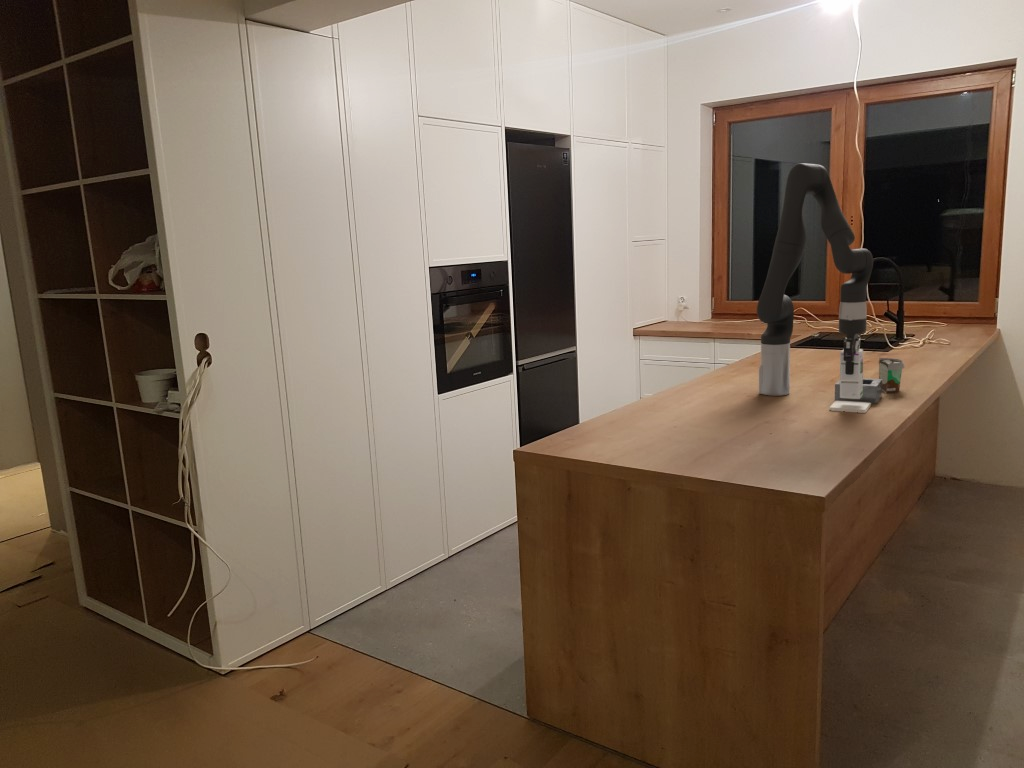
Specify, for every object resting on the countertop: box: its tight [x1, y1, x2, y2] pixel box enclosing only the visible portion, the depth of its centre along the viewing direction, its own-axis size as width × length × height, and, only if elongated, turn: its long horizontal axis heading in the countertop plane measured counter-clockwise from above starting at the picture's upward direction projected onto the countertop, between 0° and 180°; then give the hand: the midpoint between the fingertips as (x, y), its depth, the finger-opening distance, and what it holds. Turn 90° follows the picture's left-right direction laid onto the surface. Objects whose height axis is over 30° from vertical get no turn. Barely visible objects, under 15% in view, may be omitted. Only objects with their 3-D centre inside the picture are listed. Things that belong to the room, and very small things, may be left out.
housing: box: [834, 377, 883, 405], centre depth 243 cm, size 12×12×6 cm
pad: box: [829, 400, 872, 414], centre depth 232 cm, size 10×10×1 cm
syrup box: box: [839, 348, 864, 399], centre depth 230 cm, size 6×6×14 cm
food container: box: [878, 357, 905, 394], centre depth 252 cm, size 12×6×10 cm, turn 168°
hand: (851, 372), depth 230 cm, fingers closed on syrup box, 5 cm apart
